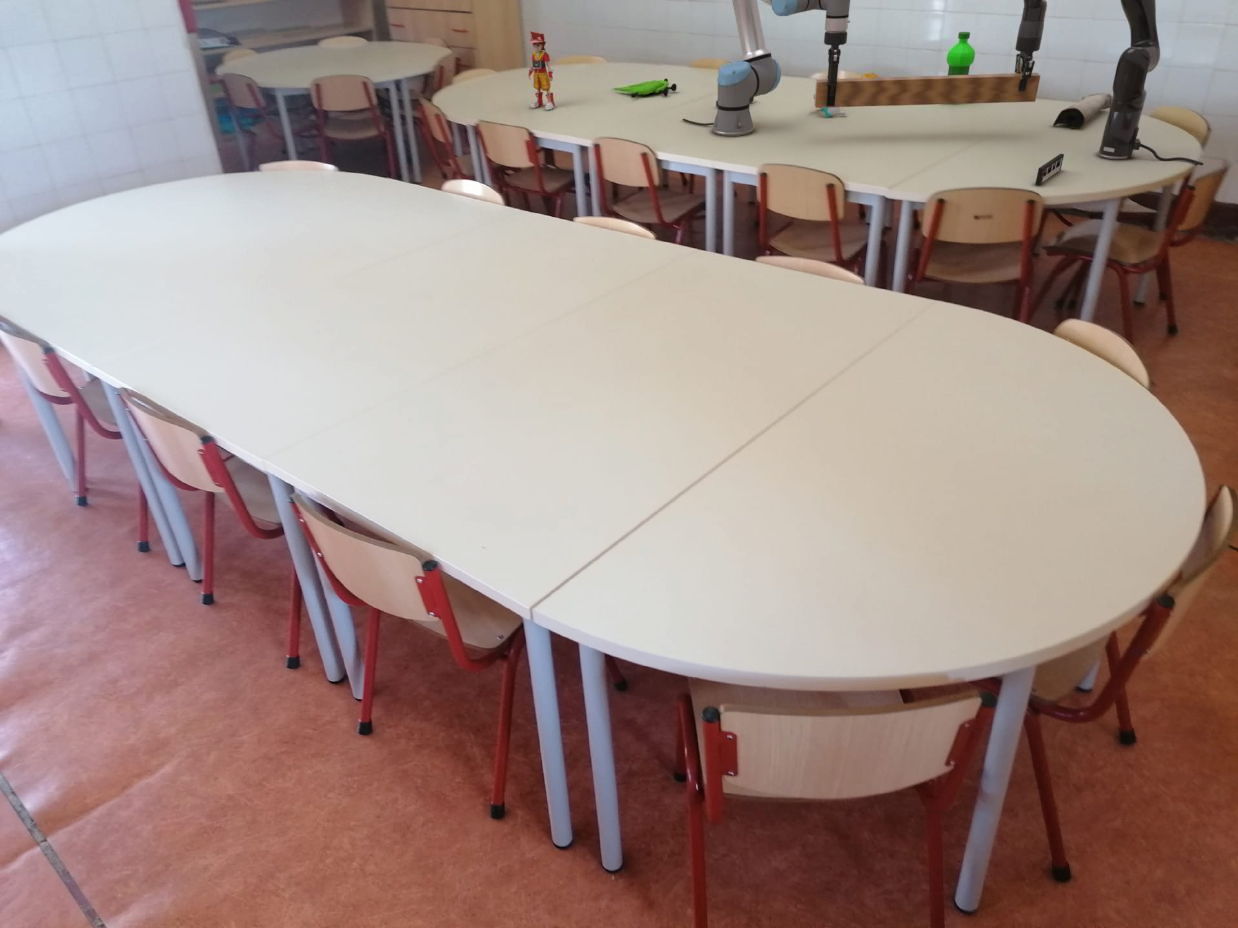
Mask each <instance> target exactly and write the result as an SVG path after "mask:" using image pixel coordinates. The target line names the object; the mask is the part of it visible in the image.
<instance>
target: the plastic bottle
mask: <svg viewBox="0 0 1238 928" xmlns="http://www.w3.org/2000/svg"><path fill="white" fill-rule="evenodd" d="M970 36H971V32H970V31H959V32H958V36H957V39H958V42H957V43H956V44H954V45H953V46H952V47H951V48H950V49H949V50H948V52H947V54H946V63H947V64H948V69H947V70H948V71H947V75H970V74H969V73H970V67H971V65H972V64H973V63H974V61H975V57H976V51H975V49H974V47H972V45H971V44H970V43H969V42H968V41H969V39H970V38H971V37H970Z"/></svg>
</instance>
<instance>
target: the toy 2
mask: <svg viewBox="0 0 1238 928" xmlns="http://www.w3.org/2000/svg"><path fill="white" fill-rule="evenodd" d="M669 85H670V83H669V79H668V78H664V79H663V80H649V81H644V82H640V83H634V84H629V85H627V86H621V87H613V88H612V89H613V90H616V91H619V92H623V93H627V94H628V93H629V94H631V95H630V96H631V98H632V99H634V98H636V96H637V95H650V94H652V93H654V94H658V93H662V95H663V96H665V97H667V96H668V95H669V90H671V91H672V92H676V91H677V84H676V83H672V84H671V86H669Z"/></svg>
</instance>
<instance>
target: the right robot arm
mask: <svg viewBox="0 0 1238 928" xmlns="http://www.w3.org/2000/svg"><path fill="white" fill-rule="evenodd" d="M1119 2H1120V6H1121V8H1122V10H1123V13H1124V16H1125V18H1126V21H1127V23H1128V26H1129V31H1130V32H1129V33H1130V46H1129V47H1127V48H1126V49H1125V50H1123V52H1122V53H1121V54H1120V56H1119V59H1118V61H1117V63H1116V68H1115V73H1114V77H1113V82H1112V101H1111V105H1110V108H1108V109H1109V110H1108V114H1107V117H1106V121H1105V126H1104V128H1103V129H1104V130H1103V134H1102V137H1101V142H1100V145H1099V150H1098V152H1097V155H1098V156H1099V157H1100V158H1103V159H1108V160H1126V159H1129V160H1131V159H1132V156H1133V152H1134V151H1140V148H1142V149H1145V150H1147V151H1149V152H1150V153H1152V155H1153V156H1154V158H1155V159H1157V160H1158V161H1162V162H1172V161H1184V162H1189V163H1192V164H1195V165H1198V166H1203V165H1204V162H1201V161H1198V160H1195V159H1192V158H1188V157H1181V156H1177V157H1176V156H1175V157H1161V156H1159V154H1158V153H1157V152H1156V150H1155V149H1154V148H1151V147H1149V146H1147V145H1146V144H1143V143H1142V142H1141V140H1140V138H1137V137H1138V134H1139V131H1140V126H1139V124H1140V120H1141V117H1142V113H1143V110H1144V106H1145V103H1146V99H1147V94H1148V91H1147V89H1146V88H1145V84H1146V80H1147V77H1148V74H1150V73H1151V72H1153V71H1154V70H1155V69H1156V68H1157V67H1158V65H1159V63H1160V59H1161V47H1160V41H1159V34H1158V27H1157V5H1156V3H1157V1H1156V0H1119ZM1047 9H1048V2H1047V0H1023V9H1022V14H1021V20H1020V24H1019V27H1018V32H1017V38H1016V42H1015V48H1014V49H1015V51H1017V52H1019V53H1016V56H1015V64H1014V65H1015V66H1014V73H1021V76H1020V83H1019V89H1018V90H1019V91H1025V90H1026V85H1027V79H1030V78H1031V74H1032V73H1033V72H1034V71H1033V70H1034V67H1035V64H1036V61H1035V60H1034V52H1038V51H1039V50H1040V48H1041V43H1042V38H1043V33H1044V29H1045V18H1046V15H1047V14H1046V13H1047ZM1026 73H1027V75H1025V74H1026Z"/></svg>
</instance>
